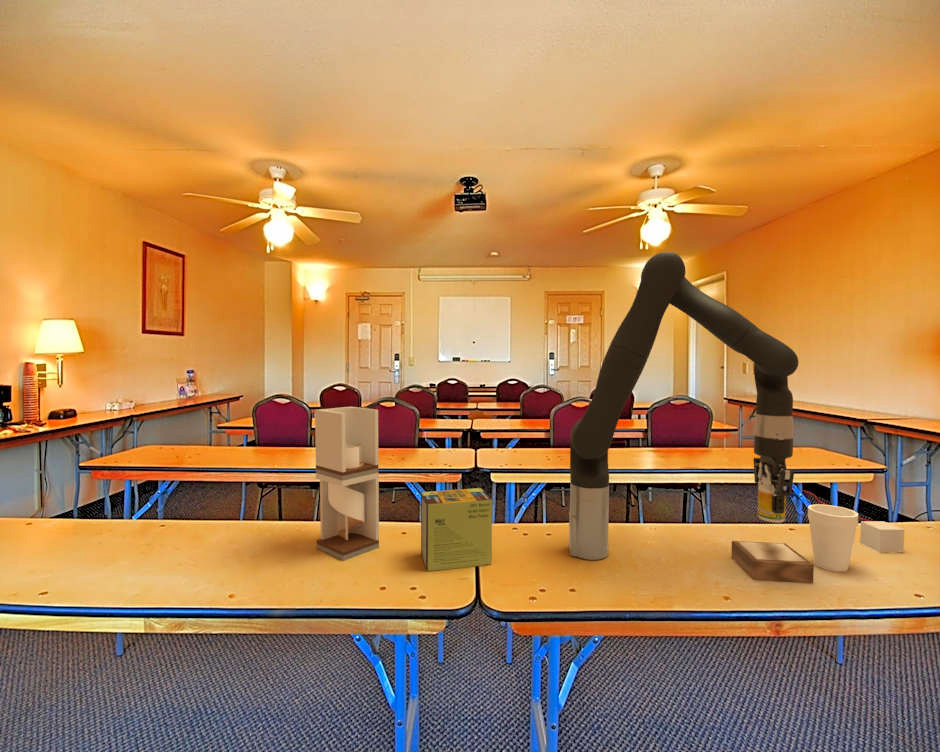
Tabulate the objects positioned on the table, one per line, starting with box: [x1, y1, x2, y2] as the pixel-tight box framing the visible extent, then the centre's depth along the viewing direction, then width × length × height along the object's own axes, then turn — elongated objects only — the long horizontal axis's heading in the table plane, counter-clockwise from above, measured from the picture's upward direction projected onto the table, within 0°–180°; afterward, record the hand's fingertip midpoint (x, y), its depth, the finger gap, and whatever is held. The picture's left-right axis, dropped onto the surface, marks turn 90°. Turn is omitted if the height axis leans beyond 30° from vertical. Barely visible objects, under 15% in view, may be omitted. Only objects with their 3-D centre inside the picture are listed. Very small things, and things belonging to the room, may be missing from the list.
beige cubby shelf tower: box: [314, 406, 380, 562], centre depth 123 cm, size 11×11×35 cm
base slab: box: [730, 540, 815, 584], centre depth 111 cm, size 12×12×4 cm
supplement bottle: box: [757, 476, 787, 523], centre depth 111 cm, size 5×5×10 cm
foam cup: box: [807, 503, 859, 573], centre depth 113 cm, size 10×9×13 cm
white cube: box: [859, 520, 905, 553], centre depth 124 cm, size 6×6×6 cm
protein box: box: [420, 487, 493, 572], centre depth 117 cm, size 10×15×16 cm
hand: (771, 508), depth 111 cm, fingers closed on supplement bottle, 5 cm apart
